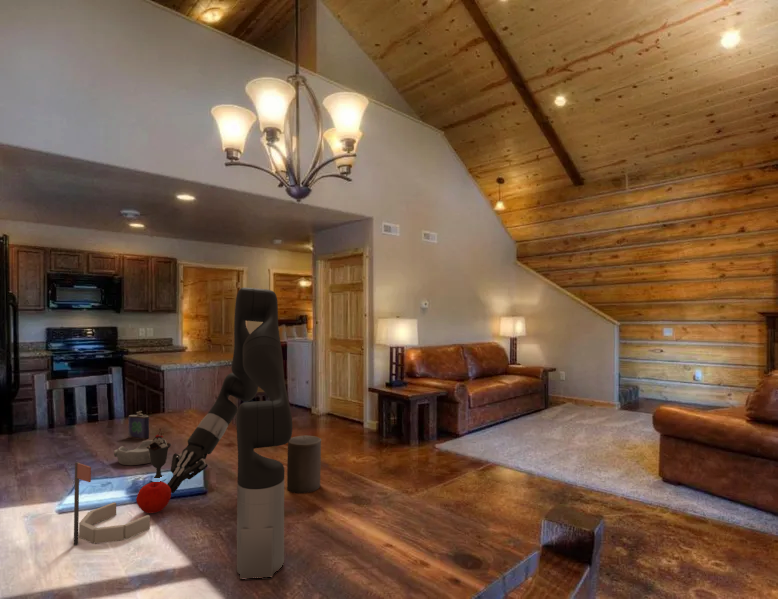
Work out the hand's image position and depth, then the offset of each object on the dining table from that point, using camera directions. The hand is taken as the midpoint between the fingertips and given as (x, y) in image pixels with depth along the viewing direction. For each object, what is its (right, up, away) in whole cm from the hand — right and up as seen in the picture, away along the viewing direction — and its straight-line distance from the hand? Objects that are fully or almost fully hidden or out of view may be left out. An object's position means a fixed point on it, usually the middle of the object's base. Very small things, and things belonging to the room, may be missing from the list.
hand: (169, 491), depth 118 cm
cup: (-8, -3, -14) cm, 17 cm away
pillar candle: (+33, -4, +12) cm, 36 cm away
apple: (-2, -4, -4) cm, 6 cm away
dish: (-27, -5, +36) cm, 45 cm away
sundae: (-12, -4, +18) cm, 22 cm away
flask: (-43, -5, +61) cm, 75 cm away
